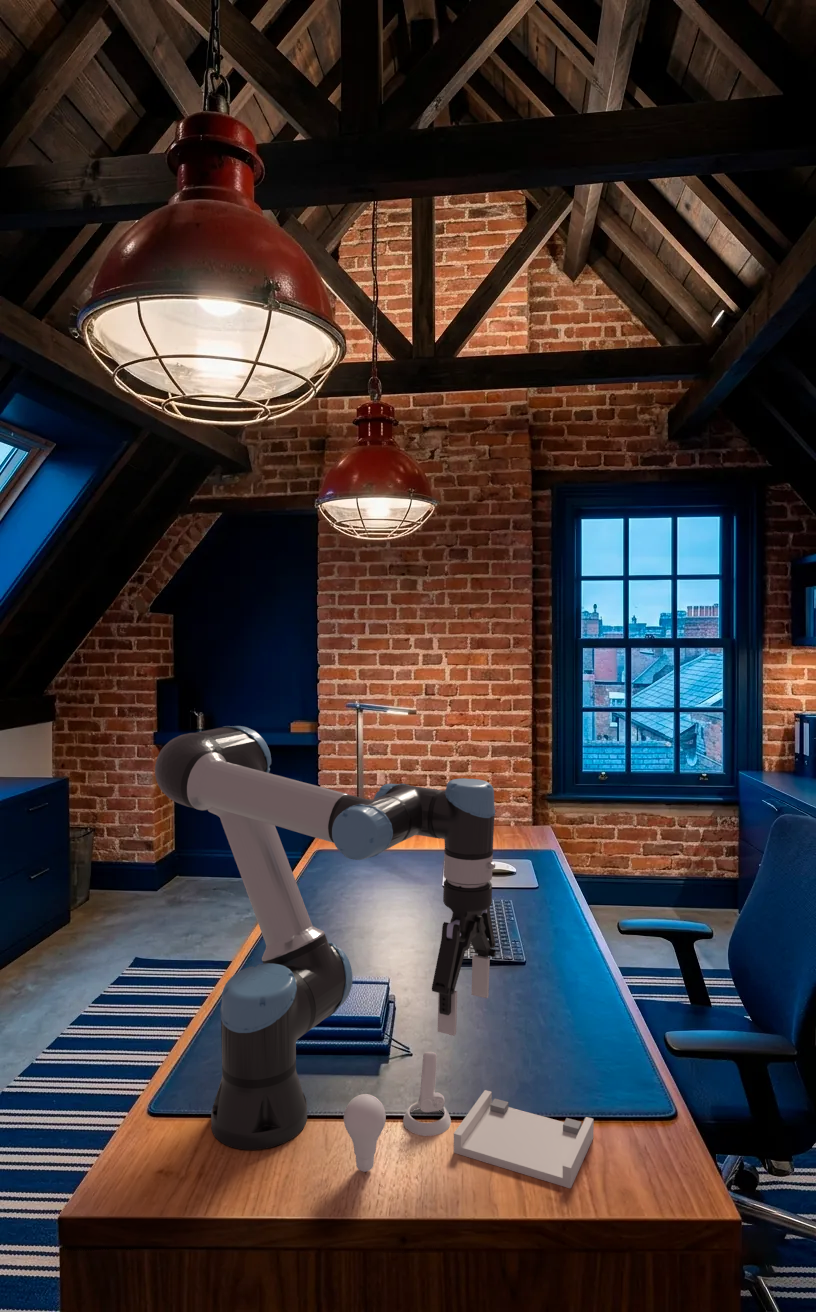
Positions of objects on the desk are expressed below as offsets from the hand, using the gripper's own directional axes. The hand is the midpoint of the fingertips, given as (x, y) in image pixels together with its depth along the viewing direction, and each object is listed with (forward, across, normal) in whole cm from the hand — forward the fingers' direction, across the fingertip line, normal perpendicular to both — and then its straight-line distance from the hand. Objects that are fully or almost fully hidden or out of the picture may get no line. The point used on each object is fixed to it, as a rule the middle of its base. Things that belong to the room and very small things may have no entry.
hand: (464, 1013), depth 132 cm
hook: (+19, 0, +6) cm, 20 cm away
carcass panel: (+18, 0, -10) cm, 21 cm away
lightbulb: (+19, -15, +9) cm, 26 cm away
